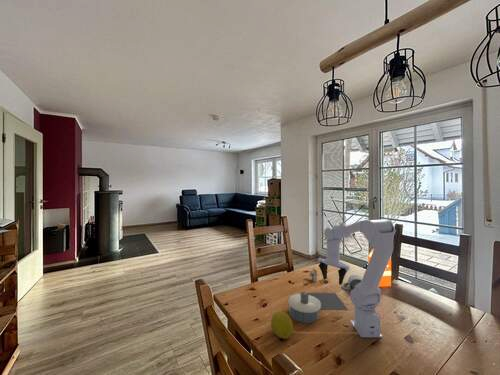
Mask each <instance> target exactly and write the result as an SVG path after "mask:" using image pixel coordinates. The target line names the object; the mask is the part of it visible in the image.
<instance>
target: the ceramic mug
mask: <svg viewBox="0 0 500 375" xmlns="http://www.w3.org/2000/svg"><path fill="white" fill-rule="evenodd" d="M362 279H363V278H362V277H361V276H359V275H357V274H352V275H350V276H349V277H348V280H347V282H344V283H342V284H341V285H342V286H341V287H342V289H343V290H345V291H348V290H350V291H351V290H353V289H354V288H355V286H356V285H357V284H359V283H360V282H361V281H362Z"/></svg>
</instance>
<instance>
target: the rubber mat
mask: <svg viewBox="0 0 500 375" xmlns="http://www.w3.org/2000/svg"><path fill="white" fill-rule="evenodd" d="M307 293H308V295H311V296H313V297H315V298H317V299H318V300H319V301H320V302H321V308H320V310H319V311H323V310H324V311H331V310H332V311H348V310H349V309H348V308H347V306H346V305H345V304H344V302H343V301H342V300H341V299H340V298H339V296H338V294H337V293H335V292H307Z"/></svg>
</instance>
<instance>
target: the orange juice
mask: <svg viewBox="0 0 500 375" xmlns="http://www.w3.org/2000/svg"><path fill="white" fill-rule="evenodd" d="M373 250H374V248H372V249H371V251H370V252H369V254H368V256H367V264H368V263H369V261H370V258H371V255H372V253H373ZM391 286H392V258H391V257H390V259H389V262H388V264H387V267H386V269H385V271H384V274H383V276H382V278H381V281H380V283H379V285H378V287H379V288H381V287H391Z"/></svg>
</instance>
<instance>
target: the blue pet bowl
mask: <svg viewBox="0 0 500 375" xmlns="http://www.w3.org/2000/svg"><path fill="white" fill-rule="evenodd" d="M288 306H289V309H288V310H289V317H290V318H291V319H293V320H294V321H295V322H299V323H302V324H311V323H315V322H317V321H318V318H319V311H320V310H318V311H317V312H313V313H304V312H300V311H297V310H295V309H293V308H292V307H291V306H290V305H288Z"/></svg>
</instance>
